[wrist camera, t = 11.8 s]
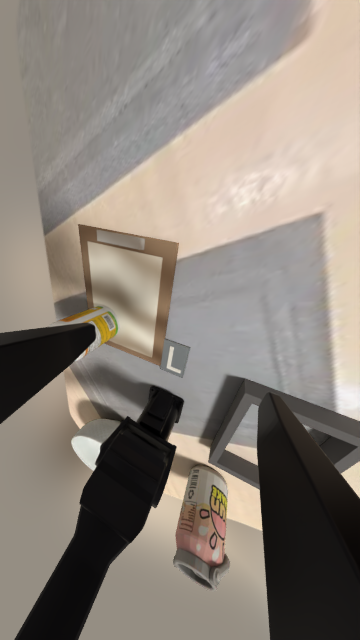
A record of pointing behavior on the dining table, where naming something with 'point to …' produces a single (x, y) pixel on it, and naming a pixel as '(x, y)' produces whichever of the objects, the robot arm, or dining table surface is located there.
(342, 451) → the empty rectangular frame
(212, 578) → the beverage can
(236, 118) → the dining table surface
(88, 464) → the cereal bowl
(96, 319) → the supplement bottle
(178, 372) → the letter card
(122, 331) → the clipboard
